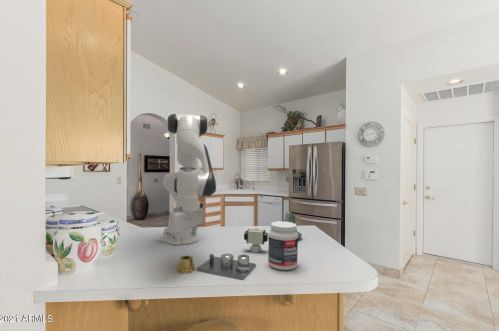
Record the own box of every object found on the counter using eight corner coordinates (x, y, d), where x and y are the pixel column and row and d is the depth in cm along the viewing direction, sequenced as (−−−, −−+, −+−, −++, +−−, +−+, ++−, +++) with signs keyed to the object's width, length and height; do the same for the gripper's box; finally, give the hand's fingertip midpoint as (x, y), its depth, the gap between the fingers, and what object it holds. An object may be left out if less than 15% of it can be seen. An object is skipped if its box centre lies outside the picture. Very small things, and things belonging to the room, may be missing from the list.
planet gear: (173, 271, 104) (173, 259, 104) (184, 265, 111) (184, 253, 111) (188, 274, 102) (188, 262, 102) (198, 267, 108) (198, 256, 108)
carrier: (196, 270, 106) (196, 254, 106) (213, 259, 119) (213, 244, 119) (243, 280, 98) (243, 262, 98) (255, 266, 111) (256, 251, 111)
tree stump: (262, 236, 158) (268, 208, 160) (289, 241, 165) (295, 214, 167) (275, 244, 141) (282, 212, 143) (305, 249, 148) (311, 218, 150)
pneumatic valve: (266, 254, 126) (267, 230, 126) (243, 252, 129) (243, 228, 128) (267, 250, 132) (268, 227, 132) (245, 248, 134) (246, 225, 134)
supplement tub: (291, 274, 104) (292, 229, 104) (263, 267, 110) (264, 225, 110) (301, 263, 115) (302, 223, 115) (275, 258, 122) (275, 219, 121)
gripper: (177, 210, 95) (177, 247, 95) (206, 203, 114) (205, 234, 114) (164, 208, 98) (163, 245, 97) (194, 202, 117) (193, 232, 116)
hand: (186, 239), depth 106 cm, fingers open, 8 cm apart
